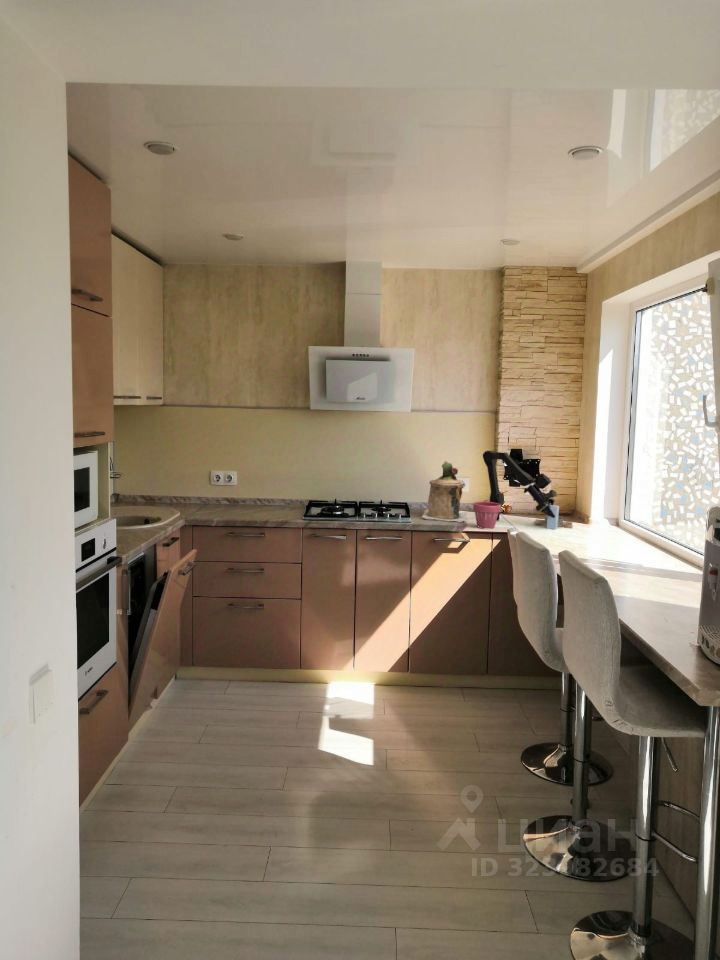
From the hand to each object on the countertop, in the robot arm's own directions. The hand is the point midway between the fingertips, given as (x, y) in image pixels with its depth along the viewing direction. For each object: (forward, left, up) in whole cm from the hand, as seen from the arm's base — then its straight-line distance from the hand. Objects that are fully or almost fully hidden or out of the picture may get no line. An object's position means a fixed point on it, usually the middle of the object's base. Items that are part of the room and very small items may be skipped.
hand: (555, 516), depth 402 cm
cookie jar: (-57, +21, -7) cm, 61 cm away
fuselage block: (-1, +1, -7) cm, 7 cm away
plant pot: (-38, -4, -7) cm, 39 cm away
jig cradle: (+3, +13, -7) cm, 15 cm away
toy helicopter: (-22, +46, -7) cm, 51 cm away
